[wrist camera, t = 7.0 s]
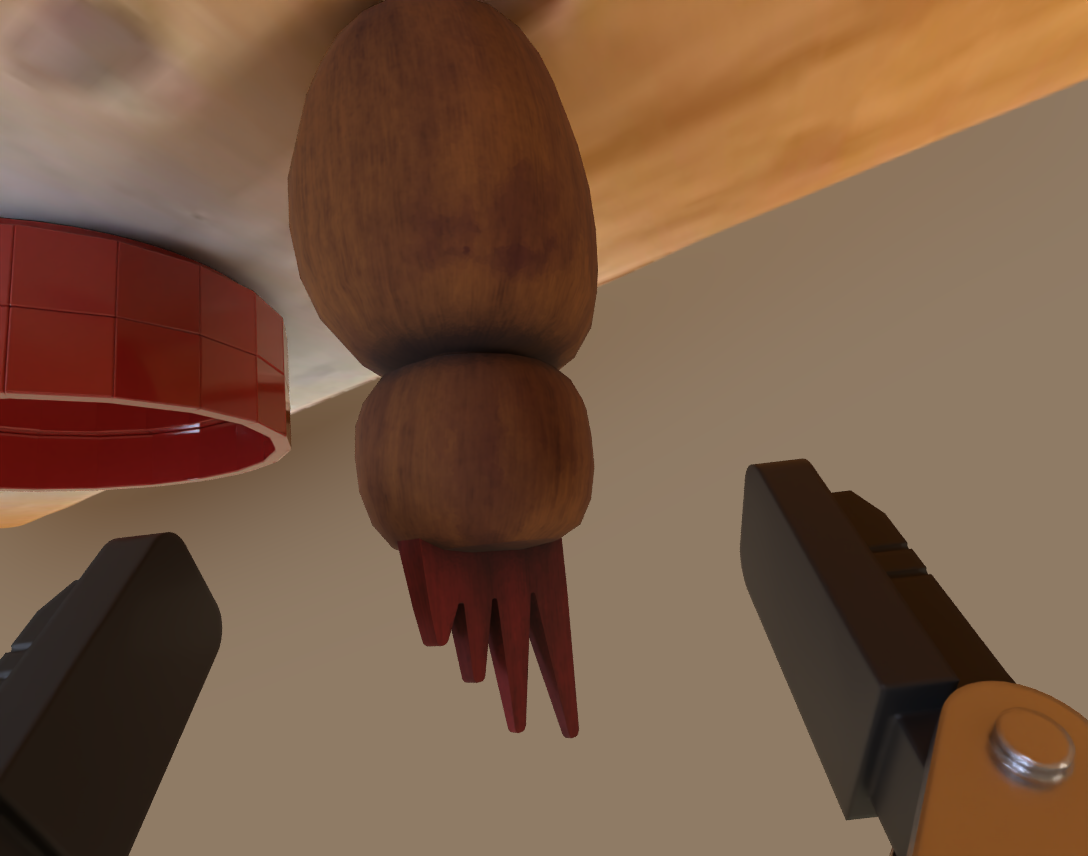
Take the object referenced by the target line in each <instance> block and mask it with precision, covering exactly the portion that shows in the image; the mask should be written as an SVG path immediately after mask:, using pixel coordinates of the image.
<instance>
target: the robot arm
mask: <svg viewBox="0 0 1088 856" xmlns="http://www.w3.org/2000/svg"><path fill="white" fill-rule="evenodd" d="M740 557H741V565H742V571H743V576H744V580H745V583H746V586H747V589H748V592H749V594H750V597H751V599H752V601H753V604H754V606H755V608H756V611H757V613H758V615H759V617H760V620H761V622H762V625H763V627H764V629H765V632H766V634H767V636H768V639H769V641H770V643H771V646H772V648H773V650H774V653H775V655H776V658H777V660H778V662H779V665H780V667H781V669H782V671H783V674H784V676H785V679H786V681H787V683H788V686H789V688H790V690H791V693H792V695H793V697H794V700H795V702H796V704H797V707H798V709H799V711H800V714H801V716H802V718H803V721H804V723H805V725H806V727H807V730H808V732H809V735H810V737H811V739H812V742H813V744H814V746H815V749H816V751H817V753H818V756H819V758H820V760H821V763H822V765H823V767H824V769H825V772H826V774H827V777H828V779H829V781H830V784H831V786H832V788H833V791H834V793H835V795H836V798H837V800H838V802H839V805H840V807H841V809H842V812H843V814H844V816H845V819H846V820H852V819H860V818H870V817H879V819H880V822H881V824H882V826H883V828H884V830H885V832H886V834H887V836H888V839H889V841H890V843H891V845H892V850H891V853H890V856H1088V720H1087V719H1086V718H1084V717H1083V716H1082V715H1081V714H1080V713H1078V712H1077V711H1075V710H1074V709H1072V708H1071V707H1069V706H1068V705H1066V704H1065V703H1063V702H1061V701H1059V700H1057V699H1055V698H1054V697H1052V696H1050V695H1048V694H1045V693H1043V692H1040V691H1038V690H1036V689H1033V688H1029V687H1026V686H1023V685H1020V684H1016V683H1015V682H1014V680H1013V679H1012V678H1011V677H1010V676H1009V675H1008V673H1007V672H1006V671H1005V670H1004V668H1003V667H1002V666H1001V664H1000V663H999V662H998V661H997V659H996V658H995V657H994V655H993V654H992V653H991V651H990V650H989V649H988V647H987V646H986V645H985V644H984V642H983V641H982V640H981V638H980V637H979V636H978V634H977V633H976V632H975V630H974V629H973V628H972V627H971V625H970V624H969V623H968V621H967V620H966V619H965V618H964V616H963V615H962V614H961V612H960V611H959V610H958V608H957V607H956V606H955V604H954V603H953V602H952V600H951V599H950V598H949V597H948V596H947V594H946V593H945V591H944V590H943V589H942V587H941V586H940V585H939V583H938V582H937V581H936V580H935V578H934V577H933V576H932V575H931V574H929V575H928V573H927V571H926V566H925V565H924V564H923V563H922V561H921V560H920V559H919V557H918V556H917V555H916V553H915V552H914V551H913V550H912V549H909V548H908V546H907V542H906V540H905V539H904V538H903V537H902V535H901V534H900V533H899V532H898V530H897V529H896V527H895V526H894V525H893V524H892V522H891V521H890V519H889V518H888V517H887V516H886V514H885V513H883V512H882V511H880V510H879V509H877V508H876V507H874V506H873V505H871V504H870V503H868V502H867V501H865V500H864V499H863V498H861V497H860V496H858V495H856V494H855V493H854V492H852V491H842V492H835V493H831V492H830V490H829V489H828V487H827V486H826V485H825V483H824V482H823V480H822V479H821V477H820V476H819V474H818V473H817V471H816V470H815V469H814V467H813V466H812V464H811V463H810V462H809V461H808V460H806V459H795V460H788V461H779V462H770V463H762V464H753V465H750V466H749V467H748V468H747V471H746V475H745V487H744V500H743V514H742V527H741V541H740ZM221 636H222V621H221V614H220V611H219V608H218V605H217V603H216V602H215V600H214V598H213V596H212V594H211V592H210V590H209V588H208V586H207V585H206V583H205V581H204V579H203V577H202V575H201V573H200V571H199V570H198V568H197V566H196V564H195V562H194V560H193V558H192V556H191V555H190V553H189V551H188V549H187V547H186V545H185V544H184V542H183V540H182V539H181V538H180V537H179V536H178V535H176V534H174V533H171V532H166V533H158V534H150V535H141V536H134V537H124V538H117V539H113V540H111V541H109V542H108V543H107V544H106V545H105V546H104V547H103V548H102V549H101V551H100V552H99V553H98V555H97V556H96V557H95V559H94V560H93V561H92V563H91V564H90V566H89V567H88V568H87V570H86V571H85V573H84V574H83V575H82V577H81V578H80V579H79V580H75V581H74V582H72V583H71V584H70V585H69V586H68V587H66V588H65V589H64V590H63V591H62V592H60V593H59V594H58V595H57V596H55V597H54V598H53V599H52V600H51V601H49V602H48V603H47V604H46V605H45V606H43V607H42V608H41V609H40V610H39V611H37V613H36V614H35V615H34V617H33V618H32V619H31V620H30V622H29V623H28V624H27V626H26V627H25V628H24V630H23V631H22V632H21V634H20V635H19V636H18V637H17V639H16V640H15V641H14V643H13V644H12V645H11V647H12V650H11V652H9V653H5V654H4V656H3V657H2V658H1V659H0V856H128V855H129V853H130V851H131V848H132V846H133V844H134V841H135V839H136V837H137V835H138V832H139V830H140V828H141V826H142V823H143V821H144V819H145V816H146V814H147V812H148V809H149V807H150V805H151V803H152V800H153V798H154V796H155V794H156V791H157V789H158V787H159V784H160V782H161V780H162V778H163V775H164V773H165V771H166V769H167V766H168V764H169V762H170V760H171V757H172V755H173V753H174V750H175V748H176V746H177V744H178V741H179V739H180V737H181V735H182V732H183V730H184V728H185V725H186V723H187V721H188V719H189V716H190V714H191V712H192V710H193V707H194V705H195V703H196V700H197V698H198V696H199V693H200V691H201V689H202V687H203V684H204V682H205V680H206V678H207V675H208V673H209V671H210V669H211V666H212V664H213V662H214V659H215V657H216V655H217V652H218V650H219V647H220V643H221Z"/></svg>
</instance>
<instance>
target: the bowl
mask: <svg viewBox="0 0 1088 856" xmlns="http://www.w3.org/2000/svg"><path fill="white" fill-rule="evenodd" d="M290 428H291V425H290V395H289V366H288V339H287V335H286V330H285V326H284V321H283V318H282V317H281V316H280V315H279V314H278V313H277V312H276V311H275V310H274V309H273V308H271V307H270V306H269V305H268V304H267V303H266V302H265V301H264V300H263V299H262V298H261V297H259V296H258V295H257V294H256V293H254V291H253V290H250V289H248V288H246V287H244V286H242V285H240V284H239V283H237V282H236V281H234V280H232V279H231V278H229V277H227V276H226V275H224V274H222V273H221V272H219V271H217V270H215V269H213V268H210V267H208V266H206V265H204V264H202V263H200V262H198V261H195V260H193V259H190V258H188V257H185V256H182V255H180V254H177V253H175V252H172V251H169V250H166V249H162V248H159V247H156V246H153V245H150V244H147V243H143V242H140V241H136V240H132V239H128V238H124V237H120V236H116V235H113V234H108V233H103V232H98V231H93V230H88V229H83V228H78V227H72V226H65V225H59V224H52V223H46V222H39V221H29V220H19V219H9V218H0V491H28V492H33V491H35V492H41V491H93V490H110V489H111V490H112V489H125V488H141V487H156V486H166V485H174V484H182V483H191V482H199V481H206V480H212V479H216V478H222V477H227V476H232V475H237V474H242V473H246V472H250V471H252V470H255V469H258V468H261V467H264V466H266V465H269V464H272V463H275V462H277V461H278V460H279V459H281V458H282V457H283V456H284V455H285V454H287V453H288V452H289V451H290V450H291V429H290Z"/></svg>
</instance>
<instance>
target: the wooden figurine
mask: <svg viewBox="0 0 1088 856" xmlns="http://www.w3.org/2000/svg"><path fill="white" fill-rule="evenodd" d="M288 199H289V227H290V232H291V237H292V242H293V246H294V251H295V256H296V260H297V265H298V270H299V275H300V278H301V280H302V282H303V285H304V287H305V289H306V291H307V293H308V295H309V297H310V299H311V301H312V303H313V305H314V307H315V309H316V311H317V313H318V315H319V318H320V319H321V321H322V322H323V323H324V324H325V325H326V326H327V327H328V328H329V329H330V330H331V331H332V333H333V334H334V335H335V336H336V337H337V338H338V339H339V340H340V341H341V342H342V344H343V345H344V346H345V347H346V348H347V349H348V350H349V351H350V352H351V353H352V354H353V356H354V357H355V358H356V359H357V360H358V361H359V362H360V363H361V364H362V365H363V366H364V367H366V368H368V369H369V370H371V371H373V372H374V373H376V374H378V375H379V376H382V378H381V379H380V381H379V382H378V383H377V385H376V386H375V388H374V389H373V390H372V392H371V393H370V394H369V396H368V397H367V398H366V400H365V401H364V403H363V405H362V408H361V411H360V414H359V418H358V420H357V423H356V426H355V461H356V469H357V477H358V485H359V492H360V495H361V497H362V500H363V502H364V505H365V508H366V510H367V512H368V515H369V518H370V520H371V523H372V525H373V526H374V527H375V529H376V530H377V531H378V532H379V533H380V534H381V535H382V537H383V538H384V539H385V540H386V541H387V542H388V543H389V544H390V546H391V547H392V548H394V549H396V550H399V551H400V556H401V560H402V564H403V568H404V573H405V577H406V581H407V585H408V590H409V594H410V598H411V602H412V606H413V610H414V614H415V617H416V620H417V624H418V627H419V631H420V634H421V637H422V641H423V644H424V645H426V646H443V645H445V644H446V643H447V642H448V640H449V636H450V633H451V629H452V634H453V638H454V643H455V647H456V652H457V657H458V661H459V666H460V670H461V674H462V679H463V681H464V682H468V683H470V682H471V683H472V682H473V683H478V682H481V681H483V680H484V678H485V673H486V662H487V651H488V644H489V648H490V652H491V656H492V661H493V665H494V669H495V674H496V678H497V682H498V687H499V691H500V695H501V700H502V704H503V708H504V712H505V717H506V721H507V725H508V729H509V731H510V732H515V733H520V732H522V731H524V729H525V726H526V707H527V680H528V654H529V653H528V652H529V638H530V641H531V644H532V647H533V650H534V653H535V655H536V658H537V661H538V664H539V667H540V670H541V673H542V676H543V679H544V682H545V684H546V687H547V690H548V693H549V696H550V699H551V702H552V705H553V708H554V711H555V713H556V717H557V719H558V722H559V725H560V728H561V731H562V734H563V736H564V737H566V738H573V737H576V736H577V735H578V731H579V726H578V713H577V702H576V690H575V677H574V665H573V654H572V642H571V630H570V618H569V607H568V594H567V584H566V576H565V565H564V556H563V547H562V538H561V537H563V536H564V535H566V534H567V533H568V532H570V531H571V530H572V529H574V528H576V527H577V526H579V525H580V524H581V522H582V519H583V517H584V514H585V512H586V510H587V507H588V505H589V502H590V500H591V493H592V484H593V475H594V458H593V448H592V437H591V431H590V426H589V421H588V416H587V410H586V407H585V405H584V402H583V400H582V398H581V396H580V395H579V393H578V391H577V390H576V388H575V386H574V385H573V383H572V381H571V380H570V379H569V378H568V377H567V376H565V375H564V374H563V373H561V372H560V371H559V370H560V369H561V368H562V367H563V366H564V365H566V364H567V363H568V362H569V361H571V360H572V359H573V358H574V357H575V355H576V354H577V352H578V350H579V348H580V347H581V345H582V343H583V341H584V339H585V337H586V336H587V334H588V332H589V330H590V329H591V325H592V318H593V312H594V306H595V300H596V294H597V277H598V263H597V245H596V228H595V222H594V215H593V209H592V202H591V196H590V190H589V185H588V181H587V178H586V174H585V170H584V167H583V163H582V159H581V156H580V152H579V148H578V145H577V142H576V139H575V137H574V134H573V131H572V129H571V126H570V123H569V121H568V118H567V115H566V113H565V110H564V108H563V105H562V103H561V100H560V97H559V95H558V92H557V90H556V87H555V85H554V82H553V80H552V78H551V76H550V74H549V72H548V70H547V68H546V66H545V64H544V63H543V61H542V59H541V57H540V55H539V53H538V52H537V50H536V49H535V48H534V46H533V45H532V44H531V42H530V41H529V40H528V39H527V37H526V36H525V35H524V33H523V32H522V31H521V29H520V28H519V27H518V26H517V25H515V24H514V23H513V22H511V21H510V20H509V19H507V18H506V17H505V16H503V15H502V14H501V13H499V12H498V11H497V10H495V9H494V8H493V7H491V6H490V5H489V4H486V3H483V2H479V1H476V0H385V1H383V2H381V3H379V4H377V5H375V6H372V7H370V8H368V9H366V10H364V11H362V12H361V13H360V14H359V15H358V16H357V17H356V18H355V19H354V20H353V21H352V22H350V23H349V24H348V25H347V26H346V27H345V28H344V29H343V30H342V31H341V32H340V33H339V34H338V35H337V36H336V37H335V39H334V40H333V42H332V44H331V45H330V47H329V48H328V50H327V52H326V53H325V55H324V57H323V58H322V60H321V62H320V64H319V66H318V69H317V71H316V73H315V76H314V78H313V80H312V83H311V85H310V87H309V90H308V92H307V94H306V98H305V103H304V107H303V112H302V116H301V121H300V125H299V130H298V134H297V139H296V144H295V148H294V153H293V157H292V162H291V166H290V171H289V175H288Z"/></svg>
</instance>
